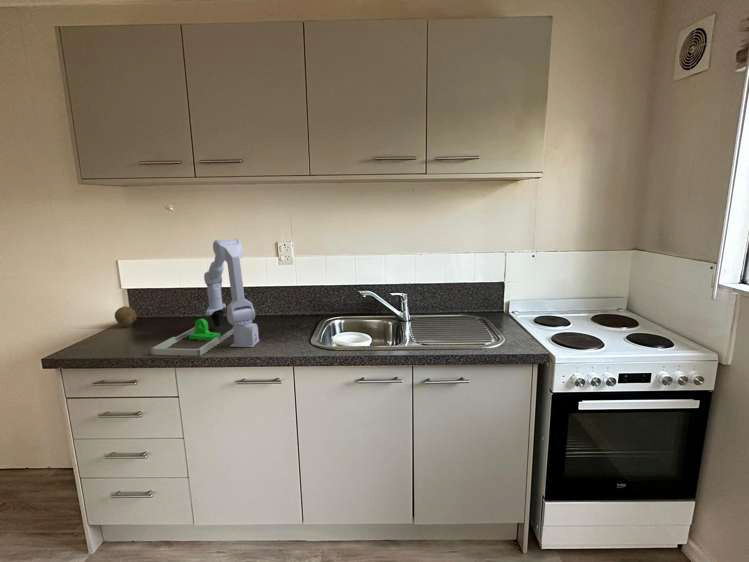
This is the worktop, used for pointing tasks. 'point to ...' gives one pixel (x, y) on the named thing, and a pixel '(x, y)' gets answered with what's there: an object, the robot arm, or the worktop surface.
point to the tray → (163, 349)
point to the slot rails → (195, 331)
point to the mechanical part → (203, 331)
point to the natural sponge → (125, 316)
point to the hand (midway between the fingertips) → (217, 326)
